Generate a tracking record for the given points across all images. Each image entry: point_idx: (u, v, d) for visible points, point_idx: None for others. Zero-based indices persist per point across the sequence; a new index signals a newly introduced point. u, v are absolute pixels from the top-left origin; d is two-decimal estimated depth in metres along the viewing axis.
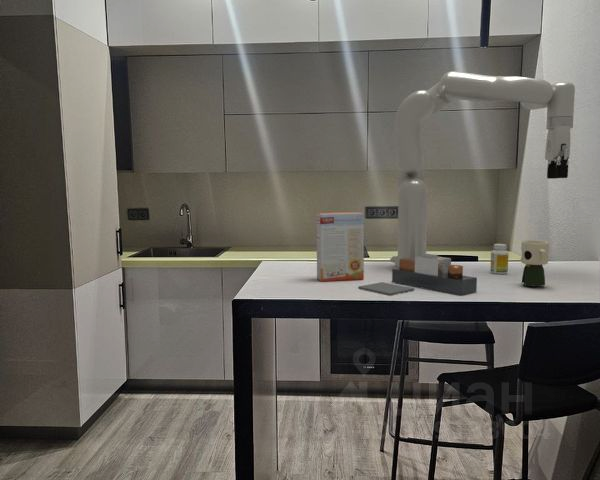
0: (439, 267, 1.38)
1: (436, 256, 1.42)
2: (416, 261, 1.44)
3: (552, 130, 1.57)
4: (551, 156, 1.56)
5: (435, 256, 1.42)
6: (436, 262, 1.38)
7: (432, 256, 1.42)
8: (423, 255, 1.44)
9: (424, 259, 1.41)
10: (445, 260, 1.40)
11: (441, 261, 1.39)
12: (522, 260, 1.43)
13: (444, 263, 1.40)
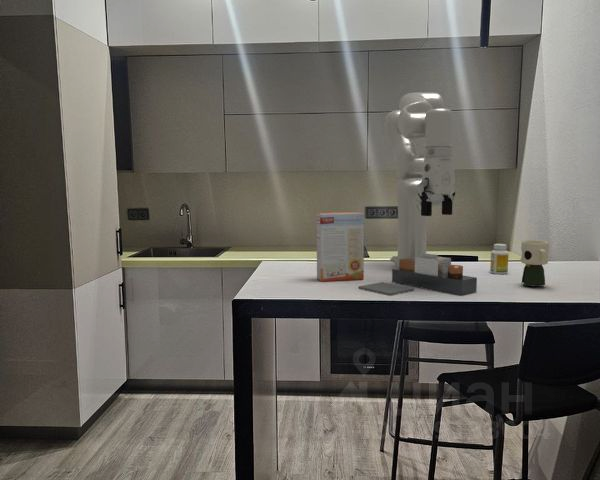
0: (439, 267, 1.38)
1: (436, 256, 1.42)
2: (416, 261, 1.44)
3: (450, 161, 1.40)
4: (452, 191, 1.41)
5: (435, 256, 1.42)
6: (436, 262, 1.38)
7: (432, 256, 1.42)
8: (423, 255, 1.44)
9: (424, 259, 1.41)
10: (445, 260, 1.40)
11: (441, 261, 1.39)
12: (522, 260, 1.43)
13: (444, 263, 1.40)
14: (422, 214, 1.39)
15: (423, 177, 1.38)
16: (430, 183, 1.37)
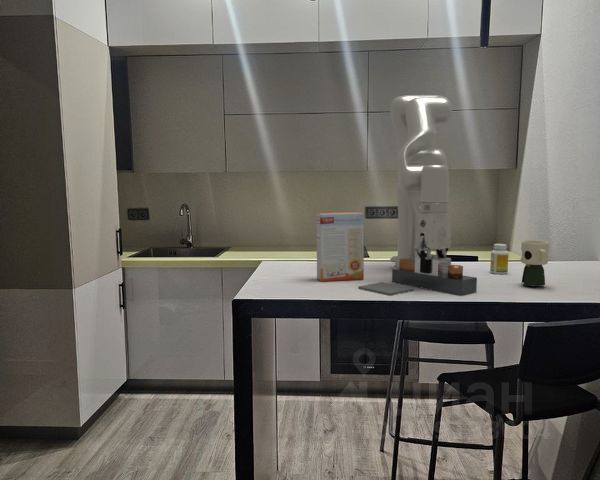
0: (439, 267, 1.38)
1: (436, 256, 1.42)
2: (416, 261, 1.44)
3: (446, 216, 1.41)
4: (448, 245, 1.42)
5: (435, 256, 1.42)
6: (436, 262, 1.38)
7: (432, 256, 1.42)
8: None
9: None
10: (445, 260, 1.40)
11: (441, 261, 1.39)
12: (522, 260, 1.43)
13: (444, 263, 1.40)
14: (421, 271, 1.42)
15: (419, 232, 1.40)
16: (425, 239, 1.38)
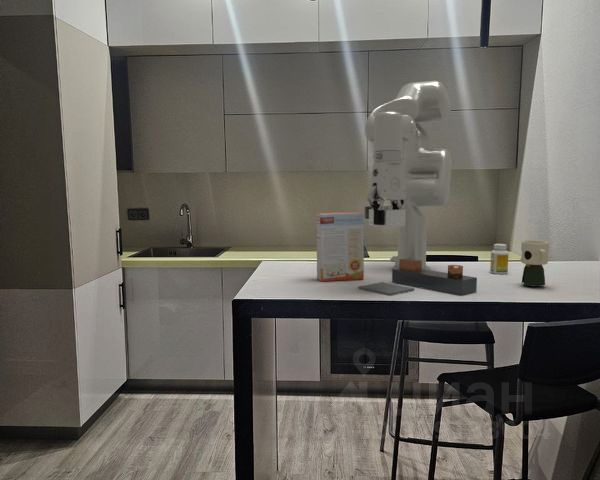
0: (392, 217, 1.33)
1: (390, 208, 1.37)
2: (370, 213, 1.39)
3: (400, 166, 1.36)
4: (403, 196, 1.37)
5: (389, 207, 1.37)
6: (389, 212, 1.33)
7: (386, 207, 1.37)
8: None
9: None
10: (399, 211, 1.35)
11: (394, 212, 1.34)
12: (522, 260, 1.43)
13: (398, 214, 1.35)
14: (374, 223, 1.37)
15: (371, 182, 1.35)
16: (378, 188, 1.33)
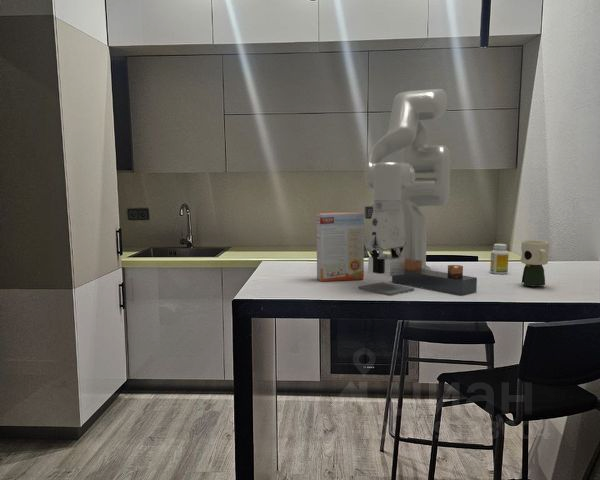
0: (391, 267, 1.35)
1: (389, 256, 1.38)
2: (369, 261, 1.40)
3: (399, 215, 1.37)
4: (402, 244, 1.39)
5: (388, 256, 1.38)
6: (388, 262, 1.35)
7: (385, 256, 1.38)
8: None
9: None
10: (398, 260, 1.36)
11: (393, 261, 1.35)
12: (522, 260, 1.43)
13: (397, 262, 1.36)
14: (374, 271, 1.38)
15: (371, 231, 1.36)
16: (377, 238, 1.34)
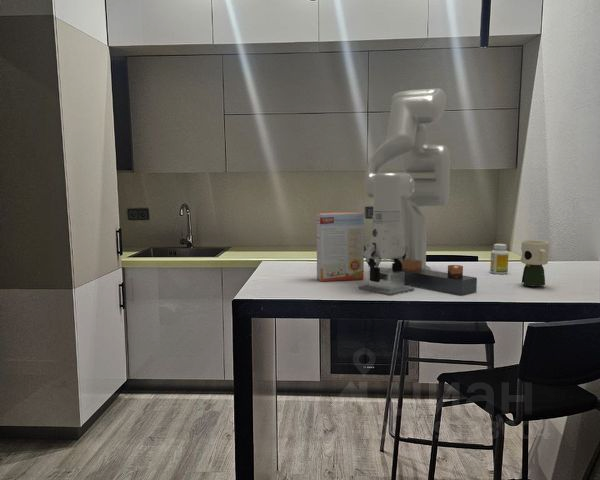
0: (391, 281, 1.35)
1: (390, 270, 1.39)
2: None
3: (399, 225, 1.38)
4: (402, 255, 1.39)
5: (388, 270, 1.39)
6: (388, 277, 1.35)
7: (385, 270, 1.39)
8: None
9: None
10: (398, 274, 1.37)
11: (393, 275, 1.36)
12: (522, 260, 1.43)
13: (397, 277, 1.37)
14: (371, 279, 1.38)
15: (371, 242, 1.37)
16: (377, 249, 1.35)
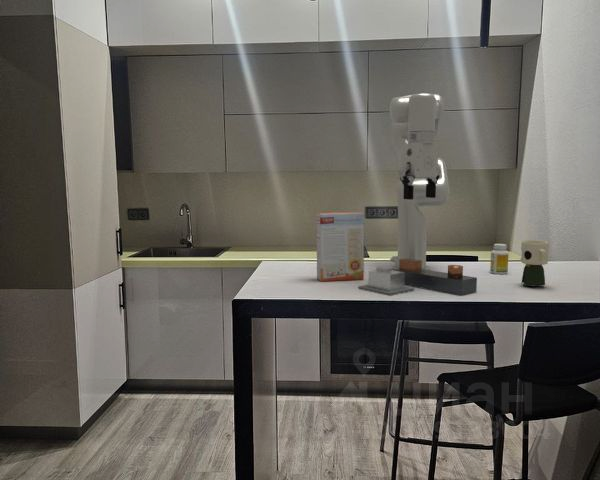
0: (391, 281, 1.35)
1: (390, 270, 1.39)
2: (370, 275, 1.41)
3: (433, 145, 1.42)
4: (435, 175, 1.44)
5: (388, 270, 1.39)
6: (388, 277, 1.35)
7: (385, 270, 1.39)
8: (377, 269, 1.41)
9: (377, 273, 1.39)
10: (398, 274, 1.37)
11: (393, 275, 1.36)
12: (522, 260, 1.43)
13: (397, 277, 1.37)
14: (404, 197, 1.43)
15: (405, 161, 1.42)
16: (411, 167, 1.40)
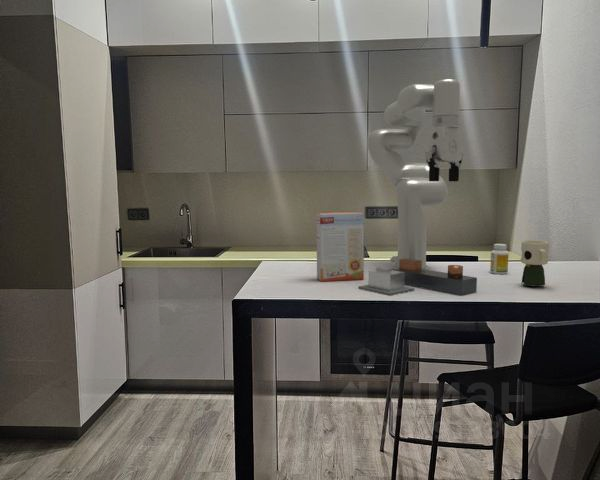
0: (391, 281, 1.35)
1: (390, 270, 1.39)
2: (370, 275, 1.41)
3: (457, 130, 1.47)
4: (459, 158, 1.49)
5: (388, 270, 1.39)
6: (388, 277, 1.35)
7: (385, 270, 1.39)
8: (377, 269, 1.41)
9: (377, 273, 1.39)
10: (398, 274, 1.37)
11: (393, 275, 1.36)
12: (522, 260, 1.43)
13: (397, 277, 1.37)
14: (430, 180, 1.47)
15: (431, 144, 1.46)
16: (437, 150, 1.45)
